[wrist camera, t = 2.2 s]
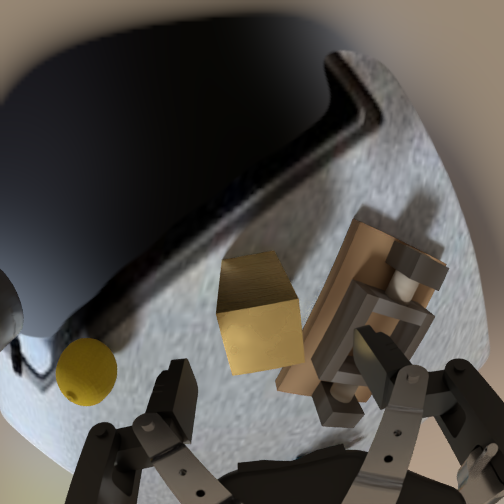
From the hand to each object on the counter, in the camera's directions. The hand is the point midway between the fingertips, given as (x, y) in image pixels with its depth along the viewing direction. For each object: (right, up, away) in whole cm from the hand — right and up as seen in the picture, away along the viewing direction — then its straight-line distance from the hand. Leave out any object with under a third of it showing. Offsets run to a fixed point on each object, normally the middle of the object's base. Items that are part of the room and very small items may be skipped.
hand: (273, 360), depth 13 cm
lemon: (-16, -4, +12) cm, 20 cm away
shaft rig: (+9, -2, +13) cm, 16 cm away
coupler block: (-1, +3, +11) cm, 11 cm away
